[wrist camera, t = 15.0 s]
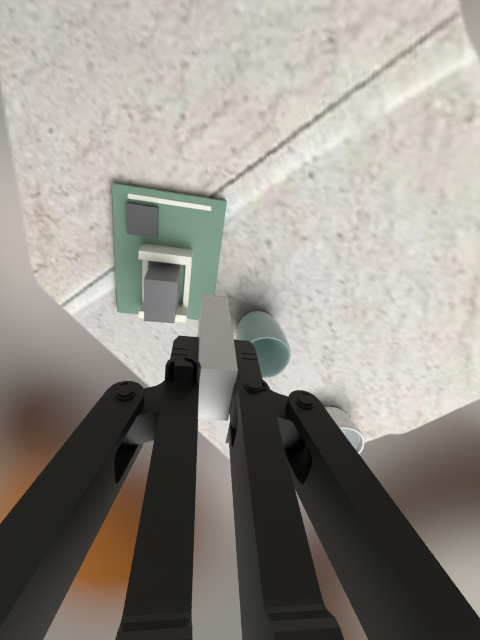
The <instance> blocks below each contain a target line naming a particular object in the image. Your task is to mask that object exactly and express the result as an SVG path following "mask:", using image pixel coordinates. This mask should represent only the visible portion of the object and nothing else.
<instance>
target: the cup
mask: <svg viewBox="0 0 480 640" xmlns="http://www.w3.org/2000/svg"><path fill="white" fill-rule="evenodd" d="M236 340H245V341H250V342H251V343H252V344H253V345H254V346H255V349H256V353H257V358H258V362H259V366H260V370H261V375H262V378H270V377H273V376H276V375H278V374H279V373H281V372H282V371H283V370H284V369H285V368H286V366H287V365H288V363H289V360H290V356H291V350H290V347H289V344H288V341H287V339H286V336H285V334H284V332H283V330H282V328H281V326H280V324H279V323H278V321H277V320H276V319H275V318H274V317H273V316H271V315H270V314H268V313H266V312H262V311H253V312H250V313H248V314H246V315H245V316H244V317H243V318H242V319H241V320H240V322H239V324H238V327H237V332H236Z"/></svg>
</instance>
